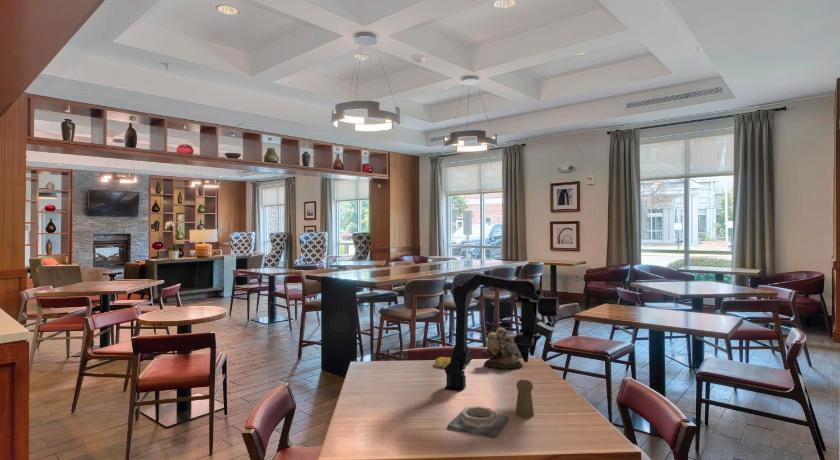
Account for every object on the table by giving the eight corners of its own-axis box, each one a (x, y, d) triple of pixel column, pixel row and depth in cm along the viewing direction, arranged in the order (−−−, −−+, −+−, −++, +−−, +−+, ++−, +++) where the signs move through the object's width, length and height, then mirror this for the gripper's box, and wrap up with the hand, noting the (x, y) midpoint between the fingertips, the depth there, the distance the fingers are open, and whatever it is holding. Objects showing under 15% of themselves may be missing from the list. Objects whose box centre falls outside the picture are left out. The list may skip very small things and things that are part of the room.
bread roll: (440, 362, 216) (440, 353, 216) (457, 365, 211) (457, 356, 211) (430, 366, 209) (430, 357, 209) (448, 370, 204) (448, 361, 204)
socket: (447, 428, 144) (447, 417, 144) (464, 411, 158) (464, 400, 158) (495, 438, 138) (495, 426, 138) (508, 419, 151) (508, 408, 151)
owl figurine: (484, 370, 204) (484, 330, 204) (479, 363, 215) (479, 325, 215) (526, 369, 205) (525, 330, 205) (518, 362, 216) (518, 324, 216)
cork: (534, 418, 152) (534, 384, 152) (515, 417, 153) (515, 383, 153) (533, 411, 158) (533, 378, 158) (515, 410, 159) (515, 377, 159)
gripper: (546, 321, 157) (546, 368, 157) (556, 312, 173) (557, 355, 173) (513, 318, 162) (513, 364, 162) (526, 310, 178) (526, 351, 178)
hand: (529, 358), depth 169 cm, fingers open, 9 cm apart
